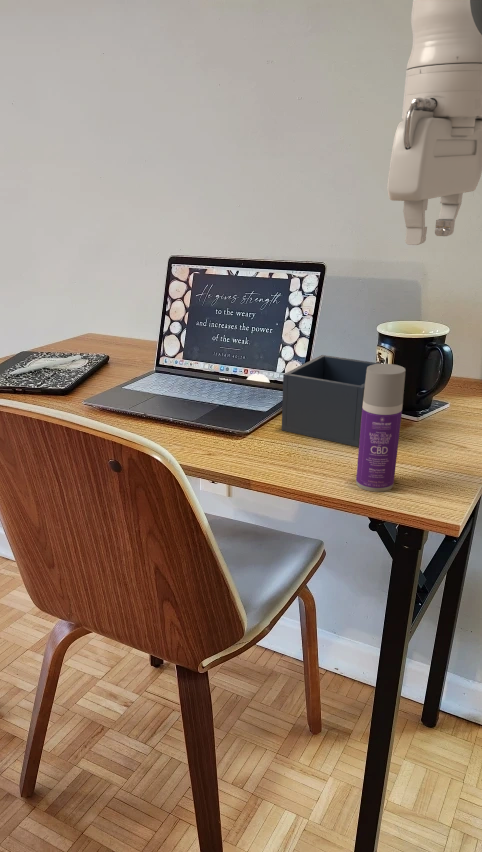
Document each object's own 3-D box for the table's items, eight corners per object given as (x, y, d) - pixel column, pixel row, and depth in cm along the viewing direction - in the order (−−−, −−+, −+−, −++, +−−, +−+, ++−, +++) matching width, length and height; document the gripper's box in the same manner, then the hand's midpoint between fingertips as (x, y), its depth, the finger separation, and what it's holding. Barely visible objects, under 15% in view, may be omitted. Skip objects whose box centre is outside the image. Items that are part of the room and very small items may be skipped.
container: (366, 494, 85) (377, 376, 78) (349, 478, 89) (358, 365, 82) (400, 488, 86) (414, 372, 79) (382, 474, 90) (393, 361, 83)
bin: (391, 420, 107) (397, 365, 103) (358, 447, 98) (363, 387, 94) (318, 406, 114) (321, 354, 110) (281, 430, 105) (283, 374, 101)
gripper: (443, 93, 63) (425, 251, 70) (503, 102, 78) (483, 232, 84) (378, 98, 67) (366, 248, 73) (447, 106, 82) (432, 230, 88)
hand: (429, 239), depth 79 cm, fingers open, 8 cm apart
